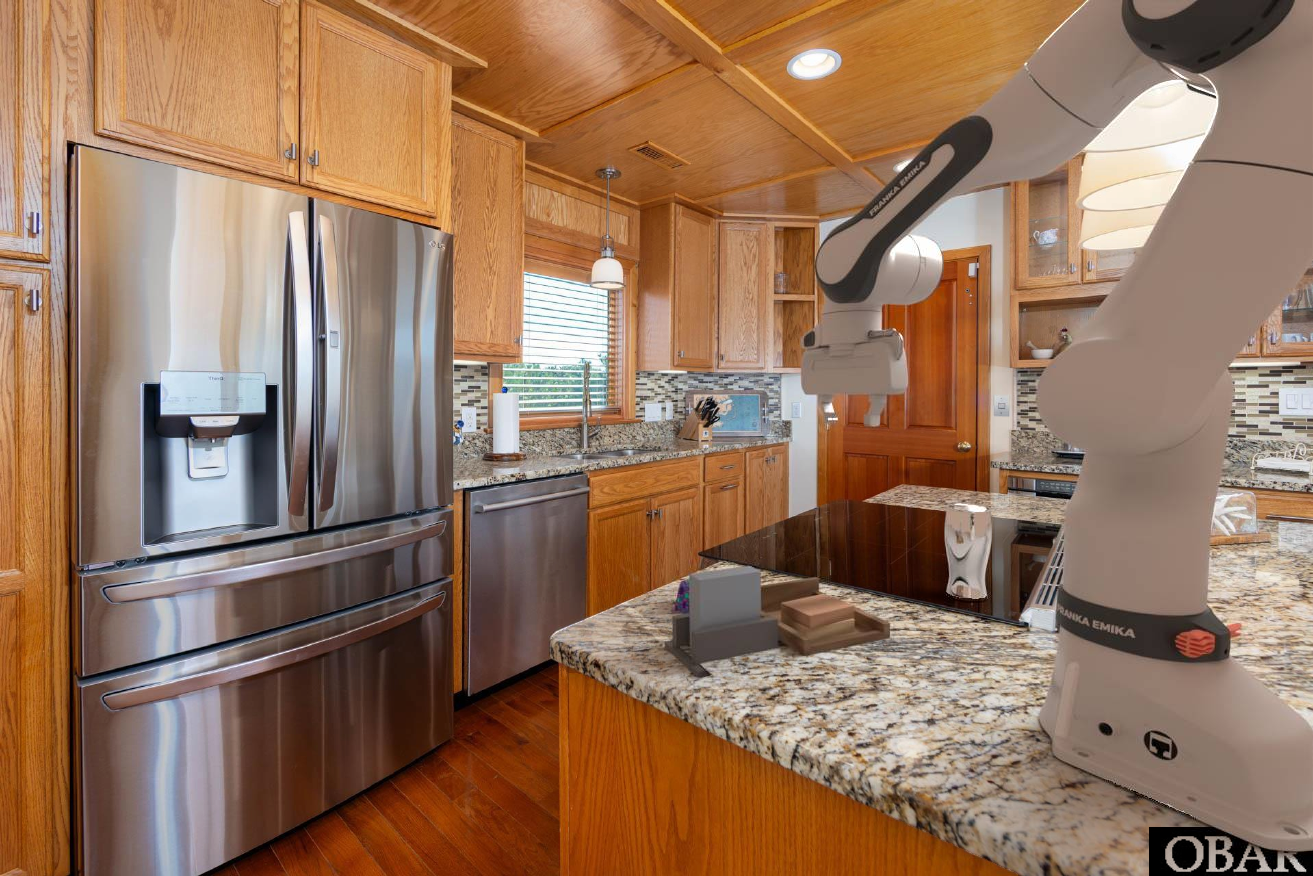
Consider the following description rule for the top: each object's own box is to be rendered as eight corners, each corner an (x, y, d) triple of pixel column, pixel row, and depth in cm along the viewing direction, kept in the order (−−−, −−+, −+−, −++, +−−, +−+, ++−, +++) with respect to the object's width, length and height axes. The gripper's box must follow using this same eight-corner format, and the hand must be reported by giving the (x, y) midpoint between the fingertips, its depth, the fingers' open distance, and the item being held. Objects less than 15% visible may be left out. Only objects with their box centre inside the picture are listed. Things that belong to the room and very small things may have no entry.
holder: (788, 658, 80) (788, 622, 80) (698, 678, 75) (697, 639, 75) (747, 631, 89) (747, 599, 89) (664, 647, 84) (664, 612, 84)
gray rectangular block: (760, 645, 82) (760, 571, 82) (700, 657, 79) (699, 580, 78) (748, 637, 85) (748, 565, 84) (689, 648, 82) (689, 574, 81)
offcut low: (854, 632, 86) (854, 619, 86) (806, 641, 83) (806, 628, 83) (826, 618, 92) (826, 606, 91) (780, 626, 88) (780, 614, 88)
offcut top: (854, 618, 86) (854, 605, 86) (810, 629, 83) (810, 615, 82) (823, 605, 92) (823, 593, 92) (780, 615, 88) (780, 602, 88)
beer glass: (1000, 600, 101) (1002, 509, 100) (968, 605, 99) (970, 512, 98) (964, 587, 108) (966, 502, 107) (934, 593, 105) (935, 505, 104)
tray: (889, 644, 84) (890, 608, 84) (804, 663, 79) (804, 624, 78) (815, 608, 99) (815, 577, 98) (739, 621, 93) (739, 588, 93)
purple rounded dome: (645, 620, 95) (644, 586, 95) (684, 598, 105) (684, 567, 105) (715, 635, 89) (715, 599, 89) (749, 610, 99) (749, 578, 99)
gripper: (919, 327, 86) (918, 427, 87) (825, 340, 105) (824, 421, 106) (884, 326, 84) (883, 428, 85) (794, 339, 103) (793, 422, 104)
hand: (849, 424), depth 96 cm, fingers open, 8 cm apart
